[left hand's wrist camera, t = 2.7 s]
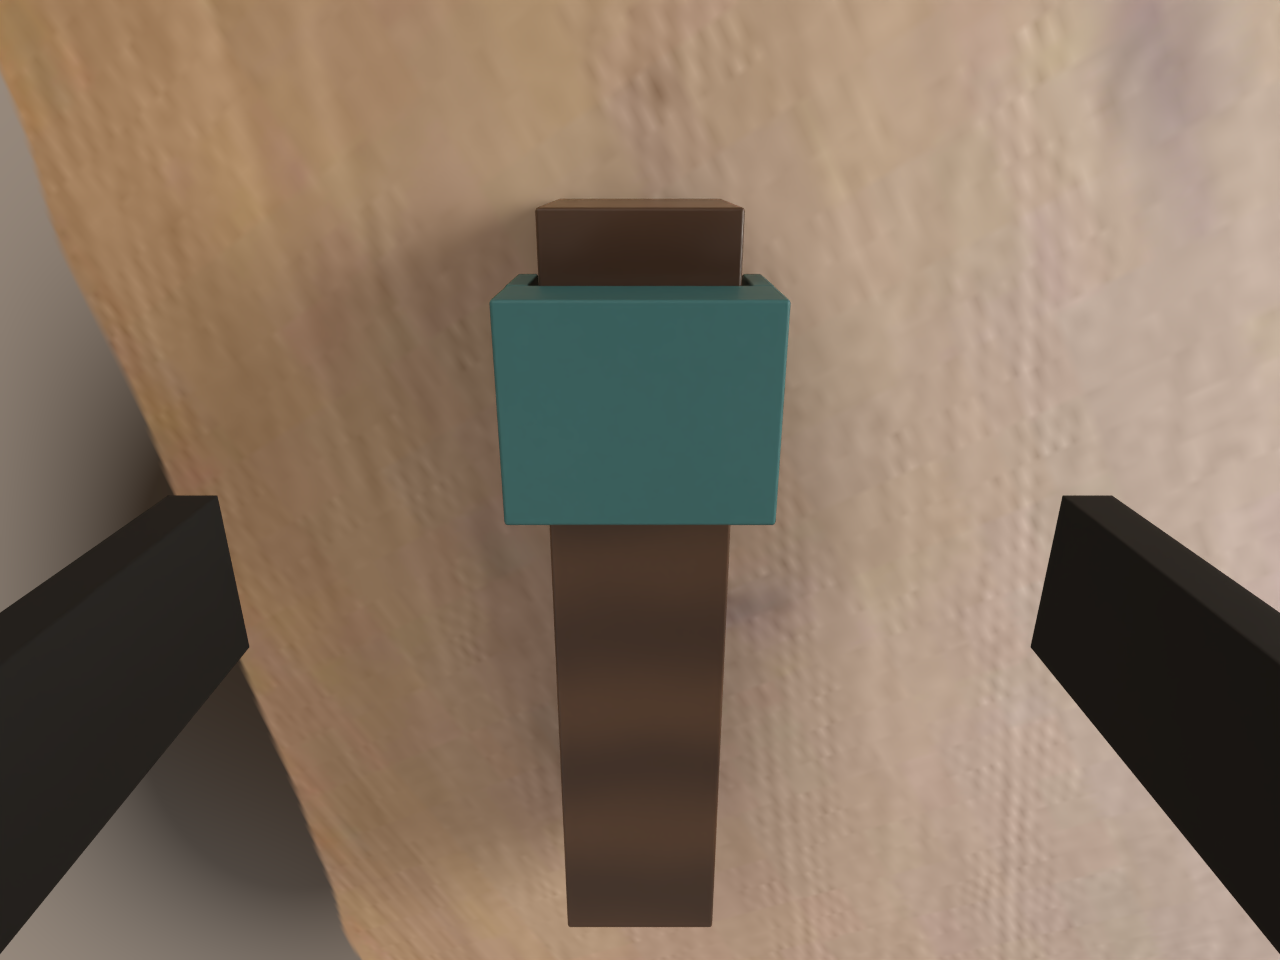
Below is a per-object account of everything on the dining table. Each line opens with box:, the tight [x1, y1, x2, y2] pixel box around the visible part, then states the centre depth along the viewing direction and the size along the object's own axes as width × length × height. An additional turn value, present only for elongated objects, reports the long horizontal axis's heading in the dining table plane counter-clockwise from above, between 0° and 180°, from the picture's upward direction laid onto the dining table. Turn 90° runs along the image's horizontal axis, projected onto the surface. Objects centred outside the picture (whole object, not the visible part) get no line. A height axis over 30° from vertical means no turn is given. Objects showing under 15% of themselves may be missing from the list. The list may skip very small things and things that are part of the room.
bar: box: [535, 199, 745, 927], centre depth 28 cm, size 26×6×6 cm, turn 0°
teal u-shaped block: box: [490, 274, 790, 525], centre depth 23 cm, size 6×7×5 cm
